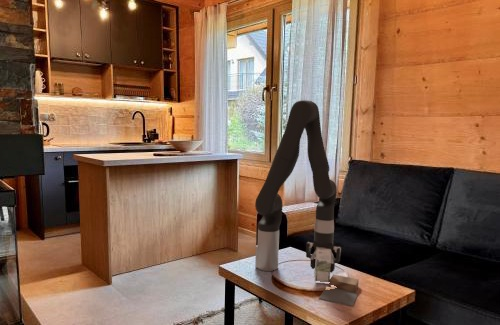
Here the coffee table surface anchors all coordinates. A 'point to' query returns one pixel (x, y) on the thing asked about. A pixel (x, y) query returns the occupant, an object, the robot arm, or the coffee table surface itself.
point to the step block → (344, 283)
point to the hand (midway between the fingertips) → (322, 269)
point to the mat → (339, 296)
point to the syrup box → (322, 264)
